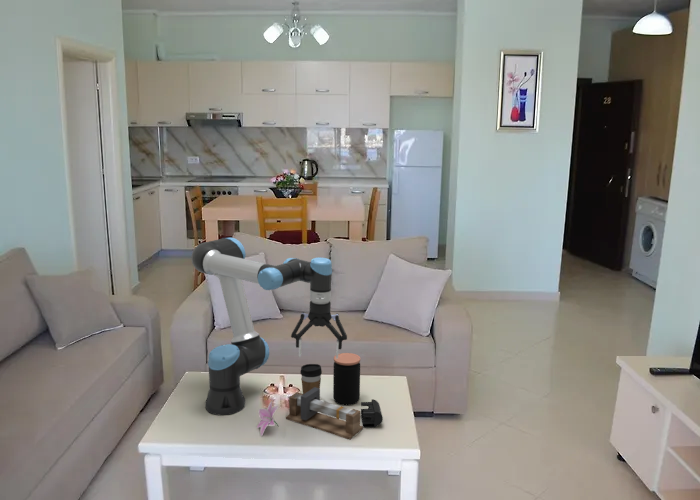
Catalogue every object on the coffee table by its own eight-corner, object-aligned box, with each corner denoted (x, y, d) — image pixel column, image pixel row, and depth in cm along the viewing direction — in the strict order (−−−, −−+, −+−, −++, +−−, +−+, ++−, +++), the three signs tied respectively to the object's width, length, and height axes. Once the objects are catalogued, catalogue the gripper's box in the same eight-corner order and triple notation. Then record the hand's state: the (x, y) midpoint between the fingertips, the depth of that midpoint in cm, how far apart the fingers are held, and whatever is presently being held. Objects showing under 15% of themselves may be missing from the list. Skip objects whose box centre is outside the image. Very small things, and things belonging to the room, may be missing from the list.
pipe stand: (285, 418, 226) (285, 398, 224) (300, 409, 233) (299, 389, 231) (349, 439, 212) (350, 418, 210) (362, 428, 219) (363, 408, 217)
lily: (261, 421, 226) (249, 404, 221) (289, 411, 224) (278, 393, 220) (259, 446, 216) (247, 429, 211) (289, 435, 214) (278, 418, 209)
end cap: (382, 428, 220) (383, 411, 219) (363, 428, 220) (363, 411, 218) (379, 415, 230) (379, 398, 228) (360, 415, 229) (360, 399, 228)
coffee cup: (318, 407, 235) (318, 371, 231) (297, 405, 236) (297, 369, 233) (323, 398, 243) (324, 363, 240) (303, 396, 244) (303, 361, 241)
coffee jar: (364, 397, 244) (365, 356, 240) (352, 408, 235) (352, 365, 231) (341, 391, 249) (341, 350, 245) (328, 402, 239) (328, 359, 235)
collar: (300, 418, 222) (300, 396, 220) (314, 409, 229) (314, 387, 227) (306, 420, 221) (306, 397, 219) (319, 410, 228) (319, 388, 226)
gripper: (284, 302, 212) (283, 359, 217) (355, 305, 212) (352, 361, 217) (286, 296, 219) (285, 350, 224) (355, 299, 219) (352, 353, 224)
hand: (318, 356), depth 221 cm, fingers open, 13 cm apart
